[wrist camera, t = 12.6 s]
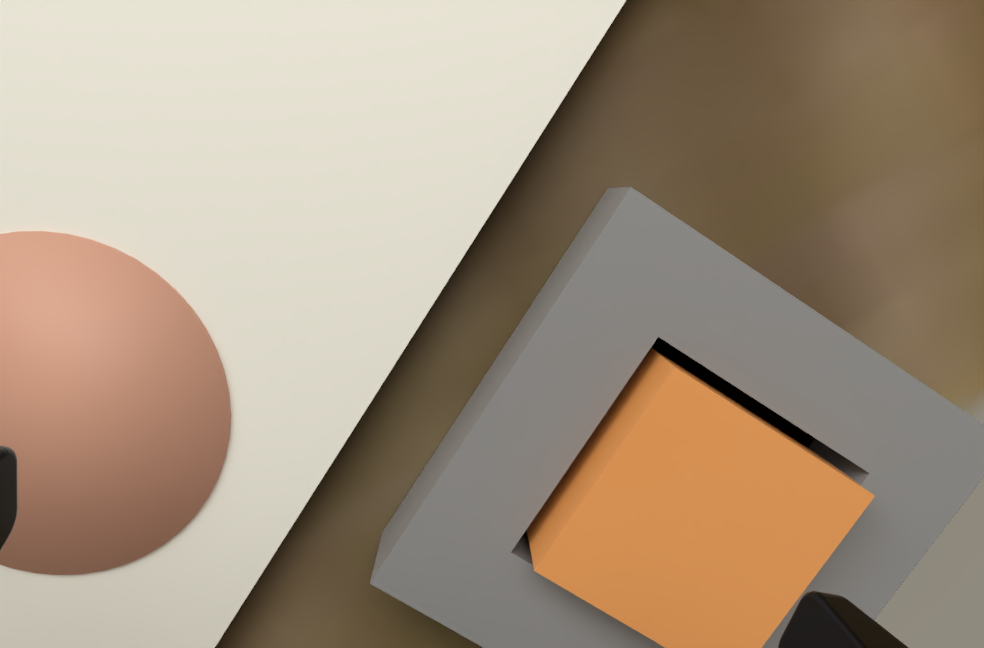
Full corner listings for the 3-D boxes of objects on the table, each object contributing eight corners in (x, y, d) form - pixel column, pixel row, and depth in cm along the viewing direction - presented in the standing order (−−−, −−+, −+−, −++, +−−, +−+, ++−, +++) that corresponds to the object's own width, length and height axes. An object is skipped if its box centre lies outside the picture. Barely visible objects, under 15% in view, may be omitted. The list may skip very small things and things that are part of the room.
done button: (824, 458, 18) (875, 495, 15) (700, 627, 18) (732, 686, 16) (648, 345, 17) (675, 367, 15) (525, 524, 18) (534, 571, 15)
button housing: (939, 409, 19) (1010, 442, 16) (706, 719, 20) (740, 792, 18) (607, 188, 18) (631, 186, 15) (381, 532, 19) (369, 583, 16)
